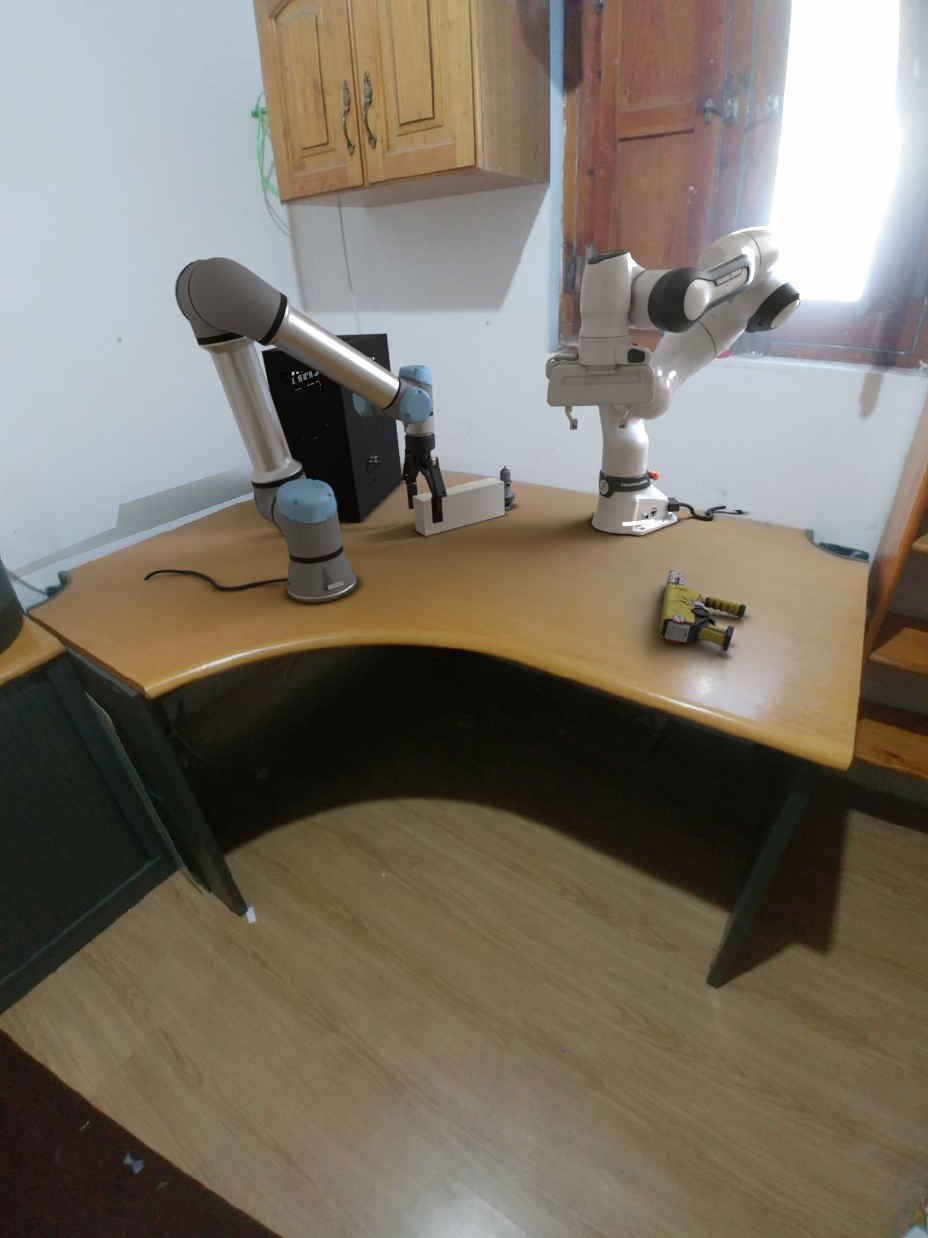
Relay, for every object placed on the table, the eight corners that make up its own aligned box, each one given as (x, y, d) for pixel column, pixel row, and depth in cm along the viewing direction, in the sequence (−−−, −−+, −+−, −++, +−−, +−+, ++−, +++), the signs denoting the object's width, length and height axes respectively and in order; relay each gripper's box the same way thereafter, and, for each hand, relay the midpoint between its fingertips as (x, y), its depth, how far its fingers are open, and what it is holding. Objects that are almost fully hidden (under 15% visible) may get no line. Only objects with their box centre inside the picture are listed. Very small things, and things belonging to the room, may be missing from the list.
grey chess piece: (514, 510, 172) (514, 468, 166) (494, 509, 173) (493, 468, 167) (517, 503, 177) (516, 462, 171) (497, 502, 178) (496, 462, 172)
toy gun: (745, 580, 121) (669, 567, 125) (754, 637, 101) (663, 618, 105) (739, 601, 124) (664, 587, 127) (746, 660, 103) (657, 641, 107)
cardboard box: (360, 522, 170) (335, 348, 148) (295, 519, 175) (261, 351, 152) (402, 481, 202) (386, 333, 179) (346, 480, 206) (324, 335, 184)
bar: (493, 509, 174) (492, 477, 169) (504, 514, 170) (504, 481, 165) (415, 530, 163) (412, 495, 158) (425, 536, 159) (422, 501, 154)
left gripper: (384, 427, 157) (392, 505, 167) (430, 444, 138) (435, 531, 149) (410, 422, 160) (416, 500, 171) (458, 439, 141) (461, 525, 152)
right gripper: (545, 356, 111) (544, 433, 118) (660, 352, 108) (652, 431, 115) (546, 352, 116) (545, 426, 123) (656, 348, 113) (648, 424, 120)
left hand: (425, 515), depth 160 cm, fingers open, 13 cm apart
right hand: (597, 428), depth 119 cm, fingers open, 8 cm apart
